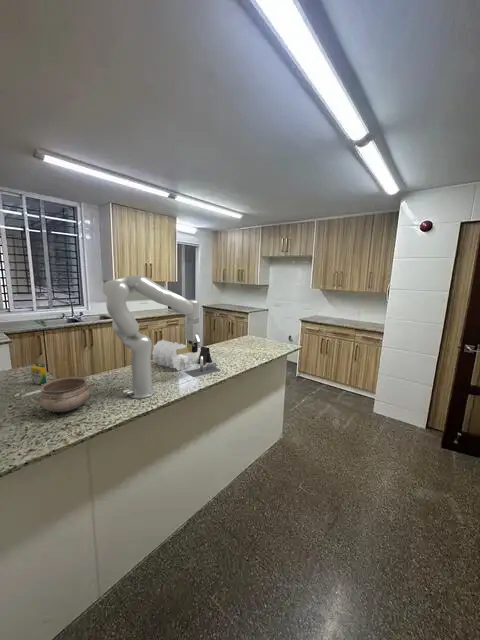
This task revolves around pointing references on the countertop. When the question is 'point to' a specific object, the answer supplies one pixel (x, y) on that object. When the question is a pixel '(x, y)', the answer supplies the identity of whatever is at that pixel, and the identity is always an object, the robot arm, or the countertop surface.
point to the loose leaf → (185, 349)
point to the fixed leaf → (209, 366)
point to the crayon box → (38, 374)
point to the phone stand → (205, 355)
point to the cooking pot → (64, 394)
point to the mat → (197, 372)
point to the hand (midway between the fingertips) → (192, 351)
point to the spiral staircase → (171, 355)
